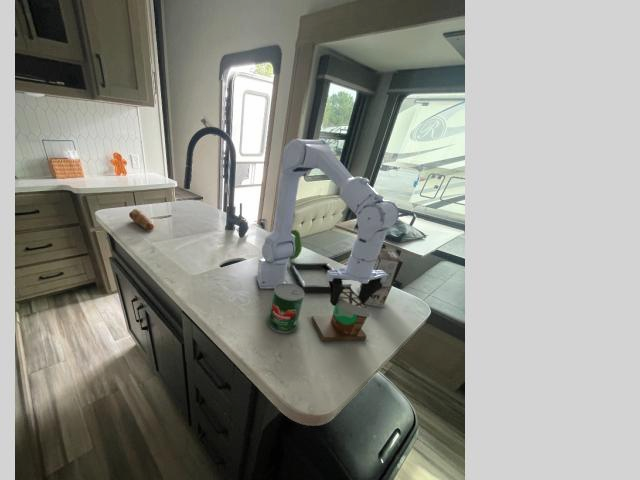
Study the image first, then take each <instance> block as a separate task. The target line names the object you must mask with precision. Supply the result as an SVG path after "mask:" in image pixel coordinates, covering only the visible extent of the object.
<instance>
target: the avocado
mask: <svg viewBox="0 0 640 480" xmlns="http://www.w3.org/2000/svg"><path fill="white" fill-rule="evenodd" d="M291 234H293V235H294V237H295V253H294V255H293V256H292V257H290V260H295V259H297V258H298V257H299V256H300V254H301V252H302V249H303V242H302V238H301V234H300V232H299V230H298V229H296V228H293V229H291Z"/></svg>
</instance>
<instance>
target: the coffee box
mask: <svg viewBox="0 0 640 480" xmlns="http://www.w3.org/2000/svg"><path fill="white" fill-rule="evenodd" d="M403 265H404V261H403V259H402V258H401V256H399V254H398V253H397V251H396V250H395V249H390V248H381V250H380V252H379V255H378V257H377V260H376V262H375V265H374V267H373V270H379V271H384V272H385V273H386V274H387V277H386V279H385V281H380V282H381V283H382V288H381V289H379V290H378V291H376V292H375V293H374V294H373V295H372V296H371V297H370V298H369V299H368V300H367V301H366V302H365V304H364V305H367V306H373V307H379V308H383V307H384V305H385V302H386V300H387V298H388V296H389V295H390V291H391V289H392V287H393V286H394V283H395V281H396V279H397V276H398V275H399V273H400V270H401V268H402V266H403ZM361 287H362V283H360V285H359V289H358V294H359V293H360V291H361Z"/></svg>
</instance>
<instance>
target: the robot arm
mask: <svg viewBox="0 0 640 480" xmlns="http://www.w3.org/2000/svg"><path fill="white" fill-rule="evenodd" d="M314 169H315V170H316V169H317V170H320V171H321V172H322V173H323V175H325V176H326V177H327V178H328V179H329V180H330V181H331V182H332V183H333V184H334V185H335V186H336V187H337V188H338V189H339V190H340V191H339V198H340V199H341V200H342V201H343V202H344V204H345V205H346V206H347V207H348V208H349V209H350V210H351V212H353V214H354V215H355V216H356V224H357V231H356V237H355V240H354V242H353V245H352V249H351V251H350V254H349V258H348V261H347V264H346V267H341V268H336V269H333V270H328V271H327V272H326V275H325V278H326V280H327V281H328V285H329V286H330V293H329V302H330V304H331V306H333V307H334V306H335V305H336V304H337V301H338V298H339V296H340V294H341V292H342V291H343V289H344V288H345V287H344V286H343V285H342V281H354V282H358V283H360V284H361V283H362V287H361V291H360V293H359V292H358V296H359V297H360V299H361V301H362V302H363V304H364V305H366V304H365V302H366V301H367V300H368V299H369V298H370V297H371V296H372V295H373V294H374V293H375V292H376V291H378V290H379V289H381V288H382V283H381V282H380V281H385V279H386V277H387V274H386V273H385V272H384V271H379V270H373V267H374V265H375V262H376V260H377V257H378V255H379V252H380V250H381V249H382V247H383V245H384V242H385V239H386V236H387V235H388V232H389V228H392V227H393V226H395V224H396V223H397V222H398V220H399V217H400V211H399V210H400V209H399V207H398V206H397V205H396V202H394V200H393V201H392V200H387V199H386V200H384V196H383V194H382V193H380V194H378V192H377V191H376V190H375V189H374V188H373V187H372V186H371V185H370V180H369V179H368V177H362V176H353V175H352V174H351V172H350V171H349V169H347V168H346V166H345V165H344V164H343V163H342V161H341V160H340V159H339V157H337V155H336V154H335V153H334V151H333V147H332V146H331V145H329V144H328V143H327V141H326V140H324V139H321V138H320V139H300V138H294V139H292V140H290V141H289V142H288V143H287V144H286V145H285V146H284V148H283V156H282V162H281V167H280V172H279V178H278V179H279V180H278V187H277V196H276V202H275V204H276V205H275V211H274V212H275V213H274V219H273V220H274V221H273V229H272V230H271V231H270V232H269V234H267V235H266V236H265V238H264V242H263V245H262V248H261V254H262V257H263V258H260V259H259V260H258V264H257V272H256V273H257V274H256V280H257V283H258V287H259V289H263V290H265V289H267V290H268V289H270V290H271V289H273V290H274V288H275V287H276V286H277V285H279V284H283V283H286V281H285V279H286V273H287V269H288V263H289V261H290V260H291V259H290V257H292V256H293V255H294V253H295V237H294V235H293V234H291V230H292V227H293V219H294V214H295V208H296V202H297V195H298V189H299V182H300V178H301V177H303V176H304V175H305V174H306V173H308V172H310V171H312V170H314Z"/></svg>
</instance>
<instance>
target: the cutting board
mask: <svg viewBox="0 0 640 480" xmlns="http://www.w3.org/2000/svg"><path fill="white" fill-rule="evenodd" d="M332 315H333V314H331V315H312V317H311V321H312V323H313V325H314V328H315V330H316V331H317V333H318V335H319V338H320V339H321V342H341V341H342V342H345V341H347V342H348V341H365V340H366V338H367V334H366V333H365V332H364V330H363V329H362V328H361V330H360V331H359V333H358V335H357V337H352V336H347V335H344V334H342V333H340V332H338V331H337V330H336V329H335V328H334V327H333V326H332V324H331V319H332Z"/></svg>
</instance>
